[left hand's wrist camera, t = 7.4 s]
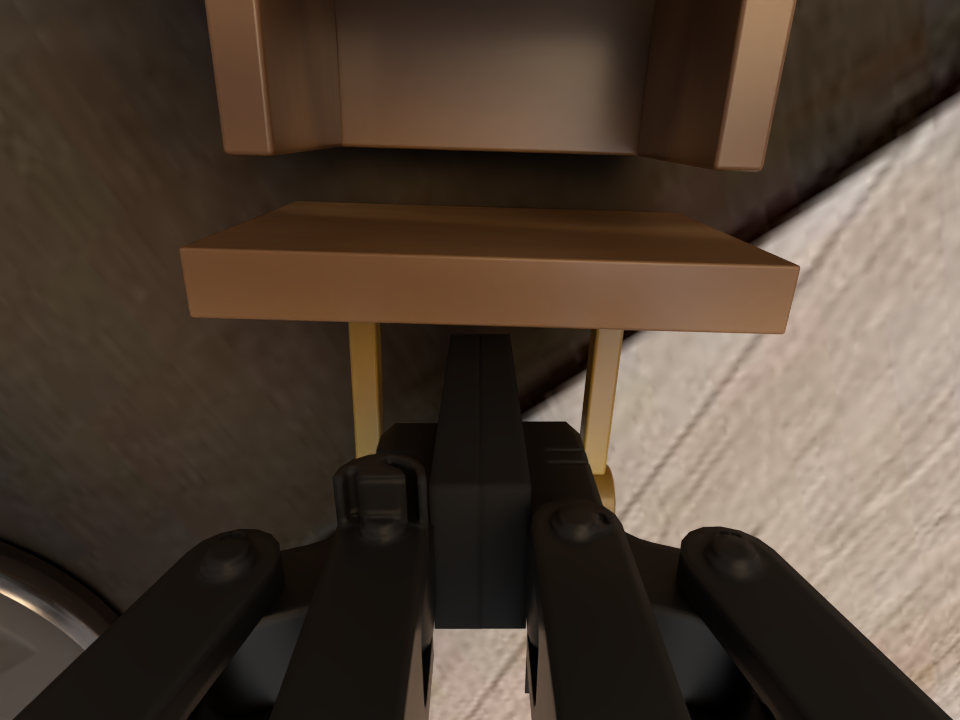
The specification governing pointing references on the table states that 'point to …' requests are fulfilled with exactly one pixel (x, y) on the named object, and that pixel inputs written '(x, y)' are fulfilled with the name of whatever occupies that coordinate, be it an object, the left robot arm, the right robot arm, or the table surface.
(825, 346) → the table surface
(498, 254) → the drawer
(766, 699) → the left robot arm
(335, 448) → the table surface
